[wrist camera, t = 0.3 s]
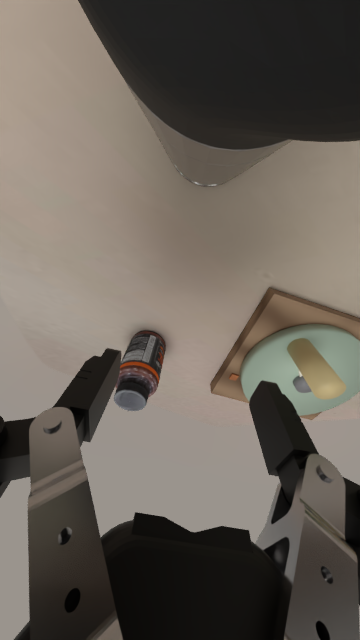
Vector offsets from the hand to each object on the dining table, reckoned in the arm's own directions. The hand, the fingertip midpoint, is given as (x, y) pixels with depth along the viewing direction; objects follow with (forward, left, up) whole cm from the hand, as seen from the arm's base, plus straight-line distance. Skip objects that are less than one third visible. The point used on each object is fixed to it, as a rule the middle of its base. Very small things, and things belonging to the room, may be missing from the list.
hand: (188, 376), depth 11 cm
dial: (+9, +21, -16) cm, 28 cm away
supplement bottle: (+14, -3, -18) cm, 23 cm away
